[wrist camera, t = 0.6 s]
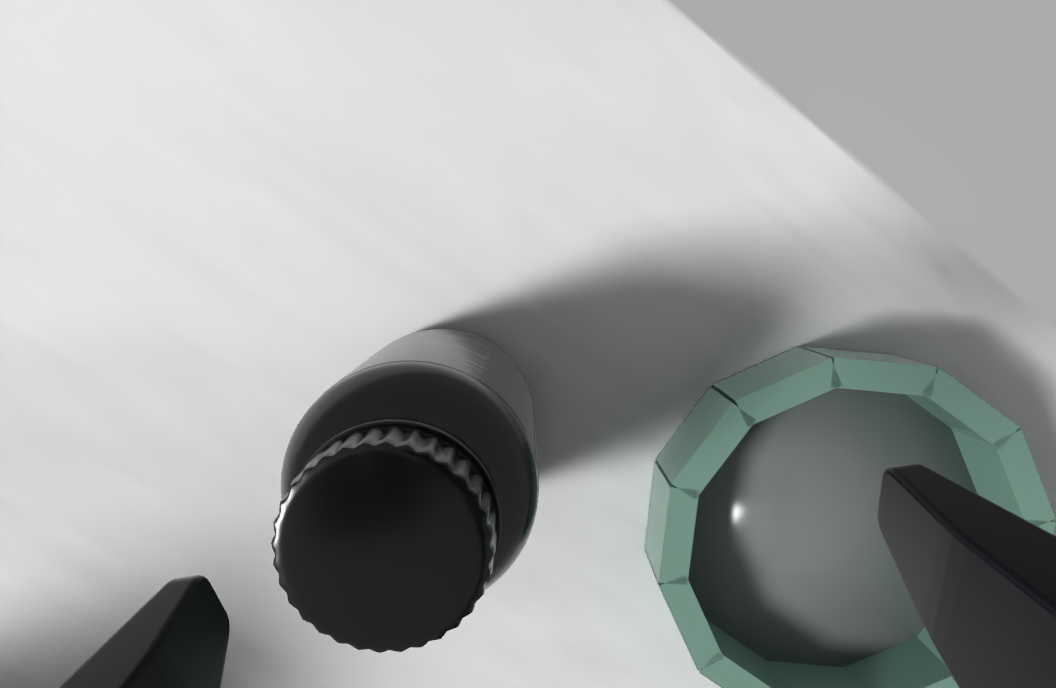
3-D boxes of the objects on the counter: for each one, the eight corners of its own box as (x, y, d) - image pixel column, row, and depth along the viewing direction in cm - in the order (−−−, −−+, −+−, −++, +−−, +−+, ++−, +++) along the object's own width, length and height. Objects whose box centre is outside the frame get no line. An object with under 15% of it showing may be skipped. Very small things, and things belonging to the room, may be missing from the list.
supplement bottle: (318, 428, 27) (151, 565, 15) (431, 288, 26) (351, 317, 14) (459, 539, 28) (405, 757, 16) (573, 406, 27) (609, 526, 15)
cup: (848, 742, 28) (885, 798, 26) (580, 559, 28) (586, 596, 25) (1064, 480, 27) (1130, 508, 24) (790, 279, 26) (823, 282, 23)
